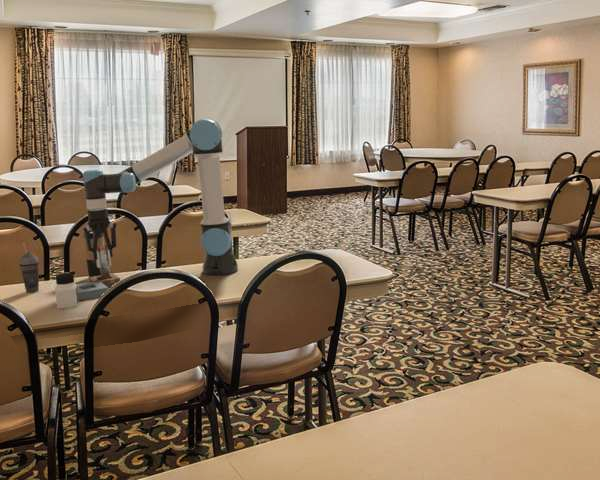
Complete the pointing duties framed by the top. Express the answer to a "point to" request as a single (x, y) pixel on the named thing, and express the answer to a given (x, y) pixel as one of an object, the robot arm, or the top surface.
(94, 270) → the travel mug
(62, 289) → the medicine bottle
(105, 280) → the mount
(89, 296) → the socket
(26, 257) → the beverage cup
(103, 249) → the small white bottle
